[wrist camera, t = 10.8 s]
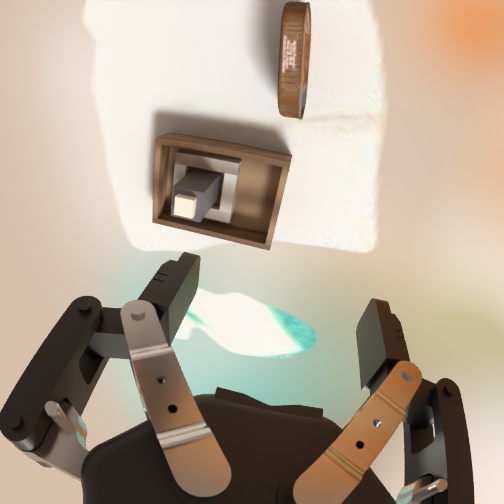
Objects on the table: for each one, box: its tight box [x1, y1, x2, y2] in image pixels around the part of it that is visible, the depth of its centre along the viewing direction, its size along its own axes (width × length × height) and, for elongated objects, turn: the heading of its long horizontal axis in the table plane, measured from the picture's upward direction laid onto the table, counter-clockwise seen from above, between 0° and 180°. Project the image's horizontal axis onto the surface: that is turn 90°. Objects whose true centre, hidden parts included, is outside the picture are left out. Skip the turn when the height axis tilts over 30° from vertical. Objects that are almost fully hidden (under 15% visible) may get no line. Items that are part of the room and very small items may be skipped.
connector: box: [171, 168, 221, 222], centre depth 39 cm, size 4×4×9 cm
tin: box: [278, 2, 311, 120], centre depth 29 cm, size 15×3×8 cm, turn 177°
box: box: [153, 133, 292, 250], centre depth 42 cm, size 13×18×4 cm
